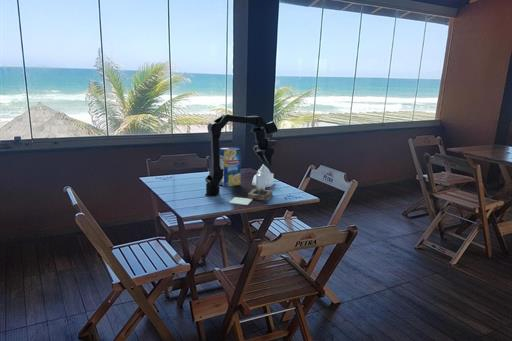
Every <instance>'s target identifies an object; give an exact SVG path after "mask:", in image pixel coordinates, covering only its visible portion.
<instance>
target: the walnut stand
mask: <svg viewBox="0 0 512 341" xmlns="http://www.w3.org/2000/svg"><path fill="white" fill-rule="evenodd" d="M272 196H273V190H268V189H267V190H266V189H265V195H262V194H256V188H252V190H251V191H250V192H248V193H247V198H248V199H253V200H257V201H258V200H259V201H269V200H270V199H271V198H272Z"/></svg>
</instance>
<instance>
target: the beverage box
mask: <svg viewBox="0 0 512 341" xmlns="http://www.w3.org/2000/svg"><path fill="white" fill-rule="evenodd" d="M219 156H220V167H222V168H223V169H224V171H223V174H224V176H223V179H222V180H221V181H220V184H219V185H221V186H222V187H231V186H232V187H233V186H240V185H241V175H242V174H241V172H242V171H241V166H242V149H241V148H239V147H221V148H220V147H219Z"/></svg>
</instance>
